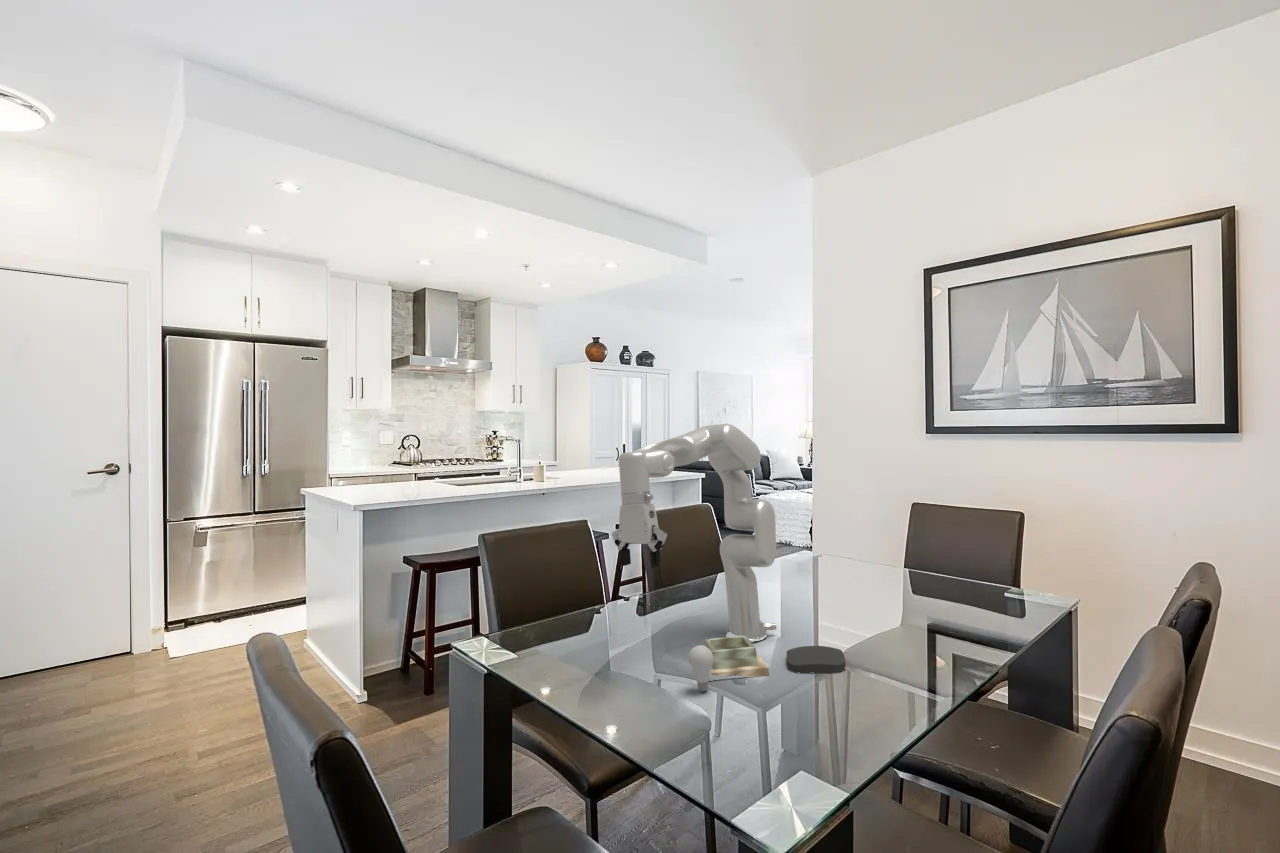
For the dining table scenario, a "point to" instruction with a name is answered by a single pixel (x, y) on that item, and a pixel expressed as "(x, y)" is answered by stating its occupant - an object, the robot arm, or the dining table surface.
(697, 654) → the lightbulb
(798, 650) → the media streaming box
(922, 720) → the dining table surface
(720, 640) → the base
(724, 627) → the dining table surface
